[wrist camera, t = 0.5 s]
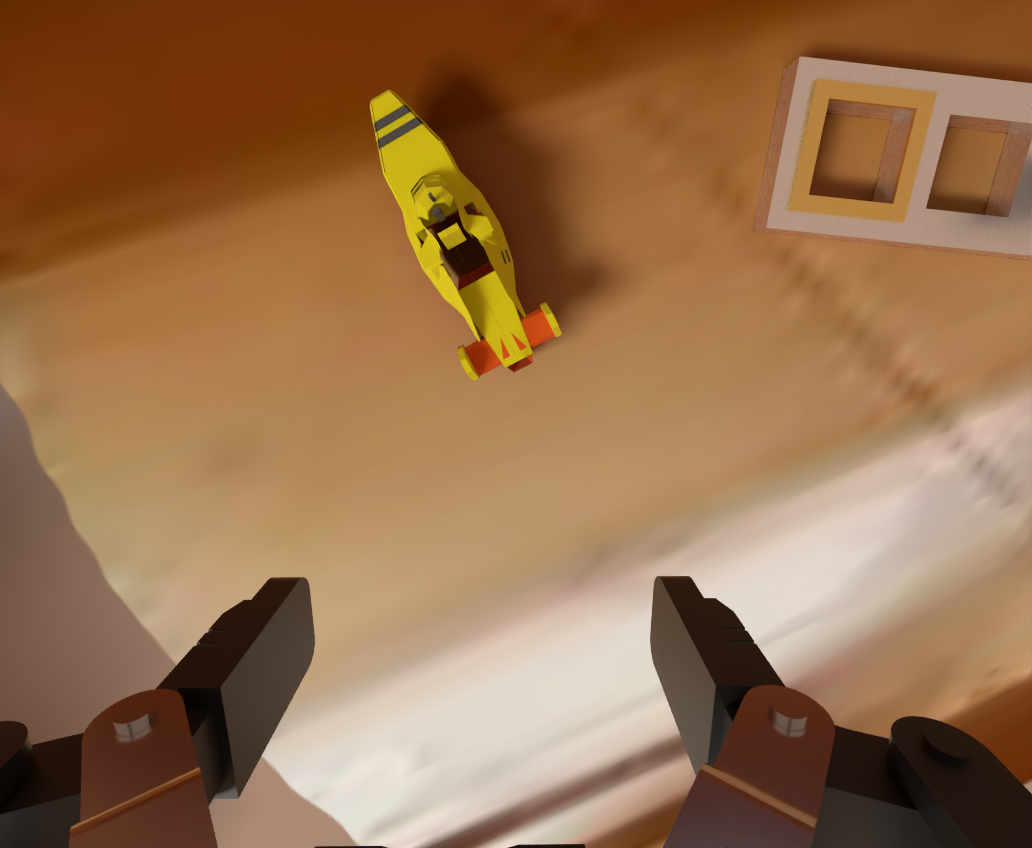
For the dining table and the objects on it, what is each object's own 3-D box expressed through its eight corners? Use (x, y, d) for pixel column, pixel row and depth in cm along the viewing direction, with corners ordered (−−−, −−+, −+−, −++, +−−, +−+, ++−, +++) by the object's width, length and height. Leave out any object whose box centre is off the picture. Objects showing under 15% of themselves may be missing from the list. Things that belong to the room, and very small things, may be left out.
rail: (783, 69, 35) (802, 54, 32) (1165, 113, 36) (1209, 101, 33) (752, 231, 37) (768, 227, 35) (1112, 269, 38) (1149, 267, 36)
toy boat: (483, 380, 39) (474, 409, 30) (355, 144, 36) (296, 88, 26) (561, 340, 39) (578, 355, 29) (438, 95, 35) (410, 18, 25)
